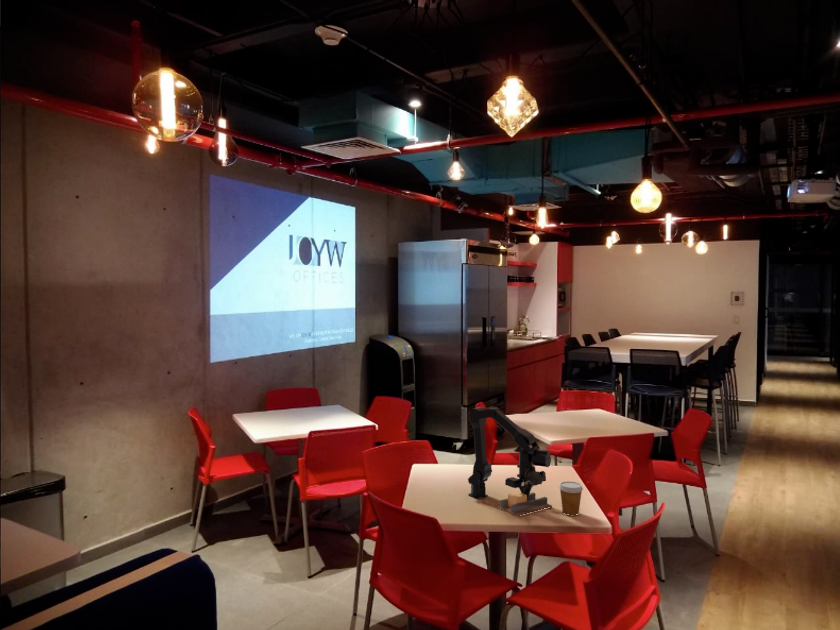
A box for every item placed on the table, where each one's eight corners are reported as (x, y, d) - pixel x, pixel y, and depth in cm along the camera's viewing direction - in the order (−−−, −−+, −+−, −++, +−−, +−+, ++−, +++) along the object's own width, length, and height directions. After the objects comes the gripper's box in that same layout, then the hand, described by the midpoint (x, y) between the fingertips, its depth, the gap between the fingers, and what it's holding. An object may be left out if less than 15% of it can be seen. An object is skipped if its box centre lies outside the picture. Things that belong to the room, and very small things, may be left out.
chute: (495, 506, 249) (495, 498, 249) (528, 498, 260) (528, 490, 259) (518, 516, 237) (518, 508, 237) (551, 507, 248) (551, 499, 248)
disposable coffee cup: (585, 512, 242) (586, 483, 242) (578, 519, 235) (578, 489, 234) (563, 507, 248) (563, 479, 248) (555, 514, 240) (555, 485, 240)
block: (507, 506, 247) (508, 494, 247) (518, 503, 250) (518, 491, 250) (516, 509, 243) (516, 497, 243) (526, 506, 246) (526, 494, 246)
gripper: (523, 471, 237) (522, 509, 237) (555, 464, 247) (555, 500, 248) (504, 464, 246) (504, 501, 247) (536, 458, 257) (536, 493, 257)
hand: (525, 499), depth 249 cm, fingers closed
